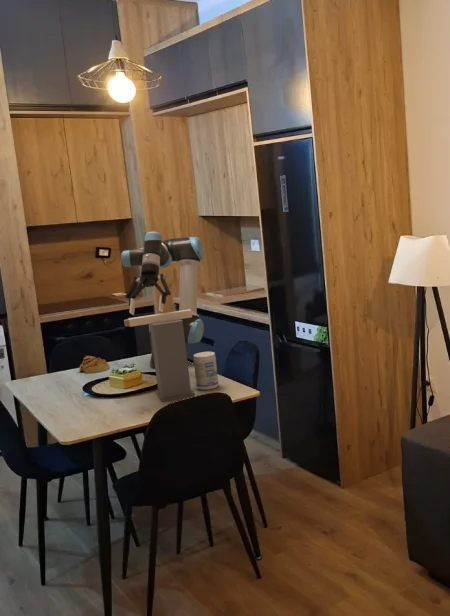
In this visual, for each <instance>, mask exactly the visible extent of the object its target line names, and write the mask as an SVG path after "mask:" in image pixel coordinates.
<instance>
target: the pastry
mask: <svg viewBox="0 0 450 616" xmlns="http://www.w3.org/2000/svg"><path fill="white" fill-rule="evenodd" d="M110 368H111V367H110V365H109V363H108V362H107V360H106V359H102V358H101V357H96V356H91V355H85V357H83V360H82V363H81V364H80V365H79V373H84V374H98V373H103V372H106V371H107V372H108V370H109V371H110Z"/></svg>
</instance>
